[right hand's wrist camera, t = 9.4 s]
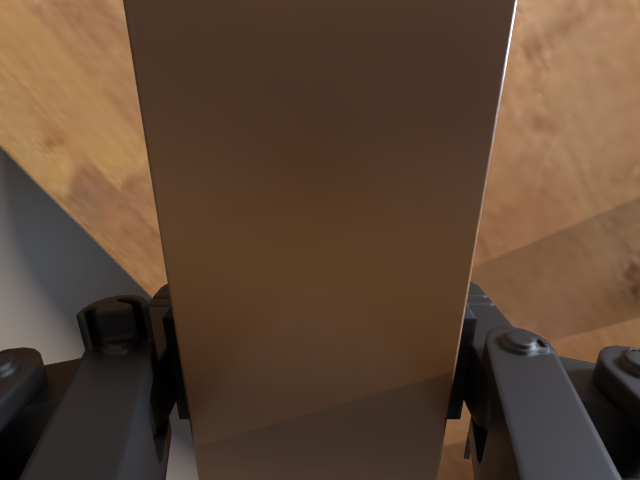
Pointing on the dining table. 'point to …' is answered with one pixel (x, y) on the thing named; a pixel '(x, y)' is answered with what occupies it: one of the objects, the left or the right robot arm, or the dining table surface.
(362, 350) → the post
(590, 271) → the dining table surface
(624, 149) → the dining table surface
